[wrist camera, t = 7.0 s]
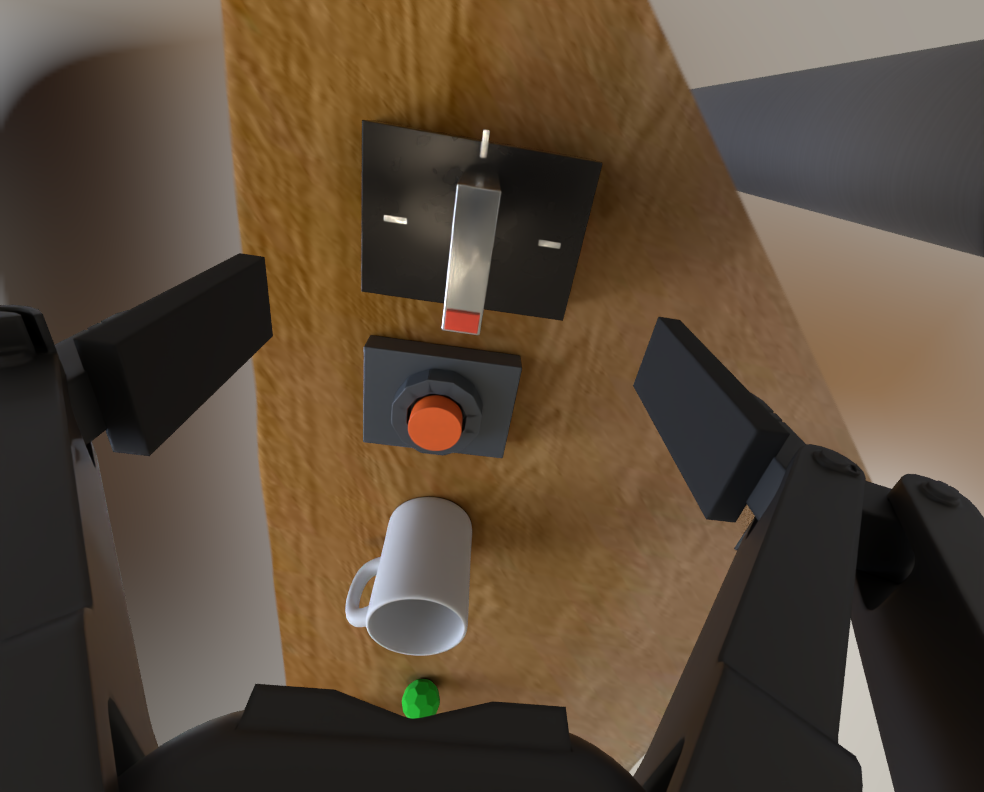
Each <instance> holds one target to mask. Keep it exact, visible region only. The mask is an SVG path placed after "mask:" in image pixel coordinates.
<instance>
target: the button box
mask: <svg viewBox="0 0 984 792" xmlns="http://www.w3.org/2000/svg"><path fill="white" fill-rule="evenodd" d="M521 371H522V365H521V358H520V356H518V355H511V354H504V353H497V352H489V351H482V350H475V349H467V348H460V347H453V346H446V345H438V344H431V343H424V342H416V341H409V340H402V339H394V338H387V337H380V336H373V335H371V336H370V337H369V339H368V341H367V342H366V344H365V346H364V400H363V442H367V443H376V444H384V445H393V446H401V447H410V448H414V449H416V450H417V451H419V452H422V453H427V454H436V455H447V454H450V453H462V454H470V455H479V456H487V457H496V458H503V454H504V450H505V445H506V440H507V436H508V431H509V426H510V422H511V417H512V413H513V408H514V403H515V399H516V394H517V389H518V385H519V380H520V375H521ZM432 395H439V396H444V397H447V398H449V399H451V400H453V401H454V402H455V403H456V404H457V405H458V406H459V408H460V409H461V412H462V417H463V419H462V431H461V436H460V438H459V440H458V441H457V443H456V444H455V445H453V446H452V447H450V448H448V449H445V450H441V451H432V450H427V449H424V448H422V447H420V446H418V445H417V444H416V443H415V442H414V441H413V440H412V439H411V437H410V435H409V432H408V423H409V419H410V415H411V411H412V408H413V406H414V405H415V404H416V403H417V402H418V401H419V400H420V399H422V398H424V397H427V396H432Z"/></svg>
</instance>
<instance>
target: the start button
mask: <svg viewBox="0 0 984 792" xmlns="http://www.w3.org/2000/svg"><path fill="white" fill-rule="evenodd" d="M462 419H463V417H462V412H461V409H460V408H459V406H458V405H457V404H456V403H455V402H454V401H453V400H451V399H449V398H447V397H444V396H439V395H432V396H427V397H424V398H422V399H420V400H419V401H418V402H417V403H416V404H415V405H414V406H413V408H412V411H411V415H410V419H409V423H408V432H409V435H410V437H411V439H412V440H413V441H414V442H415V443H416V444H417V445H418V446H420V447H422V448H424V449H427V450H432V451H441V450H445V449H448V448H450V447H452V446H453V445H455V444H456V443H457V441H458V440H459V438H460V436H461V431H462Z"/></svg>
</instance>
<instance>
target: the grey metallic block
mask: <svg viewBox="0 0 984 792" xmlns="http://www.w3.org/2000/svg"><path fill="white" fill-rule="evenodd" d="M501 193H502V192H501V187H500V182H499V177H498V174H497V173H491V172H485V171H480V170H474V169H468V168H465V170H464V171H463V173H462V175H461V177H460V179H459V181H458V183H457V186H456V196H455V206H454V215H453V225H452V234H451V244H450V253H449V263H448V272H447V282H446V292H445V301H444V311H443V320H442V330H444V331H452V332H459V333H466V334H473V335H480V330H481V324H482V317H483V311H484V304H485V298H486V291H487V284H488V278H489V271H490V265H491V258H492V252H493V245H494V239H495V232H496V226H497V219H498V213H499V206H500V200H501Z"/></svg>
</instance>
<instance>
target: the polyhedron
mask: <svg viewBox="0 0 984 792" xmlns="http://www.w3.org/2000/svg"><path fill="white" fill-rule="evenodd" d="M439 704H440V698H439V692H438V689H437V687H436V686H435V685H434V684H433V683H432V682H431V681H430V680H428V679H417V680H415V681H414V682H412V683H411V684H409V685H408V687H407V688H406V690H405V693H404V695H403V698H402V707H403V712H404V714H405V715H406V716H407V717H408V718H422V717H426V716H431V715H435V714H436V712H437V710H438V707H439Z"/></svg>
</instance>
